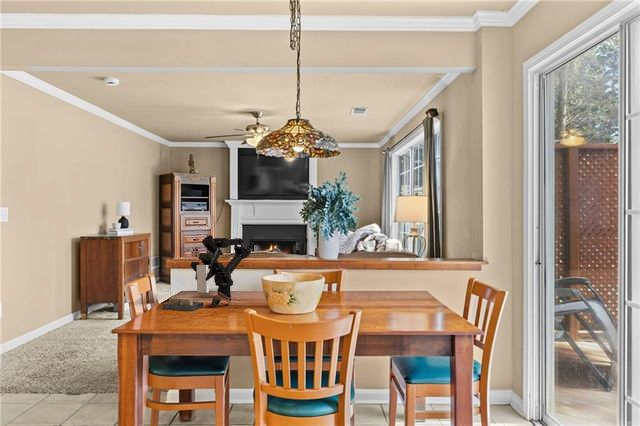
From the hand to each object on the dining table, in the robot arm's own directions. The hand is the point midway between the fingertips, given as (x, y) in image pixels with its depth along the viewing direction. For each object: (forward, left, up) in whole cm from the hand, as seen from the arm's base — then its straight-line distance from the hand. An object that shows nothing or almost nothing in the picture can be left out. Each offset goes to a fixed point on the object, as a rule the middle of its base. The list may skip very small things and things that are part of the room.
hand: (201, 280), depth 243 cm
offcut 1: (+14, +9, -12) cm, 20 cm away
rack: (+10, +10, -12) cm, 19 cm away
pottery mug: (-7, +13, -13) cm, 20 cm away
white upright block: (-1, -1, -7) cm, 7 cm away
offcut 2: (+9, +14, -12) cm, 20 cm away
